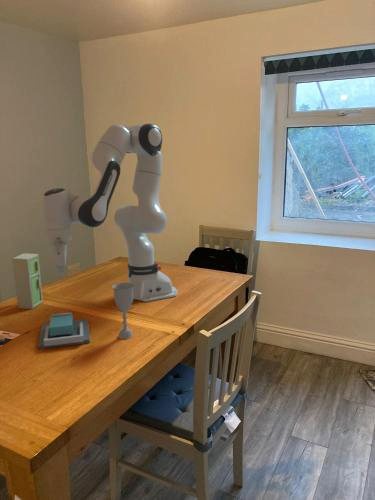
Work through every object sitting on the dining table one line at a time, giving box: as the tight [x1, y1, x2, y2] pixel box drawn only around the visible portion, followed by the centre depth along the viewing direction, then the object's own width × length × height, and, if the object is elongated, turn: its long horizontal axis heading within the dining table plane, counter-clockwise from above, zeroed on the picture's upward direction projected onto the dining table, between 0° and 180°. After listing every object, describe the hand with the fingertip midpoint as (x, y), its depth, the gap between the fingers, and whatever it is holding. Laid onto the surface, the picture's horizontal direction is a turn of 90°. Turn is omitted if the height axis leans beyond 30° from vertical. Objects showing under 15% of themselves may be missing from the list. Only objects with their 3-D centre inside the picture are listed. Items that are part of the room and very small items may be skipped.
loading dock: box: [37, 318, 91, 350], centre depth 135 cm, size 16×21×4 cm
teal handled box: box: [49, 312, 74, 338], centre depth 133 cm, size 7×10×5 cm
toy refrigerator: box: [12, 252, 44, 310], centre depth 157 cm, size 8×7×21 cm
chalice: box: [112, 282, 134, 340], centre depth 131 cm, size 7×7×18 cm
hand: (62, 272), depth 141 cm, fingers open, 8 cm apart
